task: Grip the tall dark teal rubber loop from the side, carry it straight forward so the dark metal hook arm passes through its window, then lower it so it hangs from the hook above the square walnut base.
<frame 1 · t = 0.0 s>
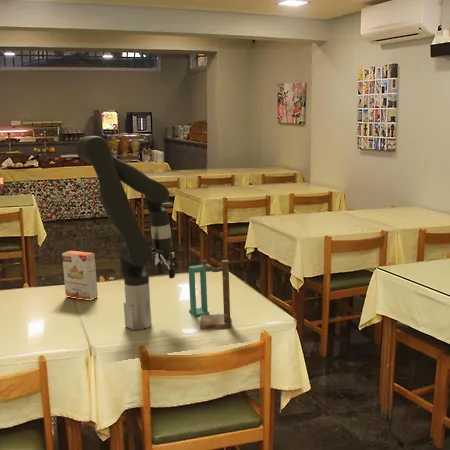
hand: (166, 275, 236), 17 cm above the table, tool pointing down, fingers open, 8 cm apart
teal loop: (199, 313, 243), on the table
cracker box: (81, 298, 269), on the table
beverage cup: (134, 282, 291), on the table
hook stand: (215, 323, 231), on the table
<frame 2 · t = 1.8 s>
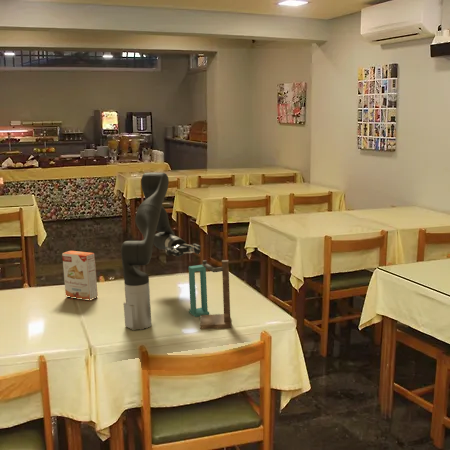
hand: (188, 253, 247), 23 cm above the table, tool horizontal, fingers open, 8 cm apart
nothing on the table moved.
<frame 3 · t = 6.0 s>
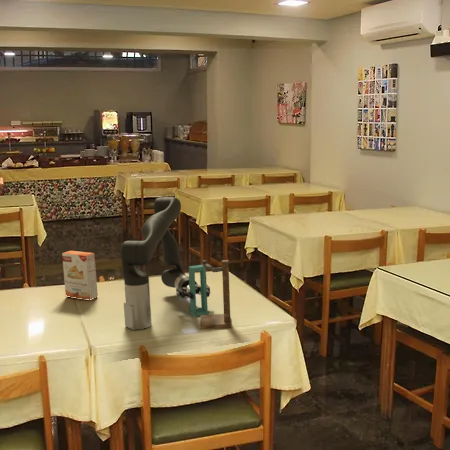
hand: (200, 295, 239), 8 cm above the table, tool horizontal, fingers closed on teal loop, 6 cm apart
teal loop: (199, 313, 243), on the table, touching gripper
everything else where it was.
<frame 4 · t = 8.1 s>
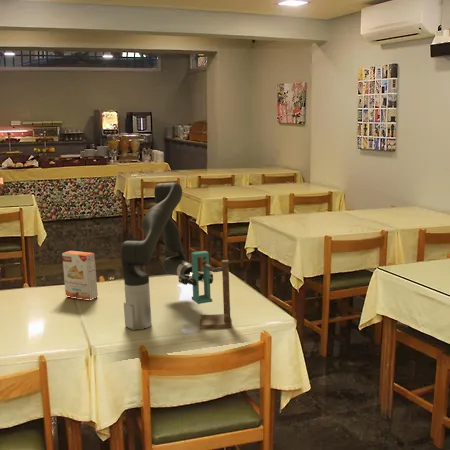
hand: (203, 282, 234), 14 cm above the table, tool horizontal, fingers closed on teal loop, 6 cm apart
teal loop: (201, 300, 238), point 6 cm above the table, touching gripper
everything else where it was.
when the fingers open (13 cm above the table, at t = 10.5 s): teal loop stays where it is, resting on hook stand.
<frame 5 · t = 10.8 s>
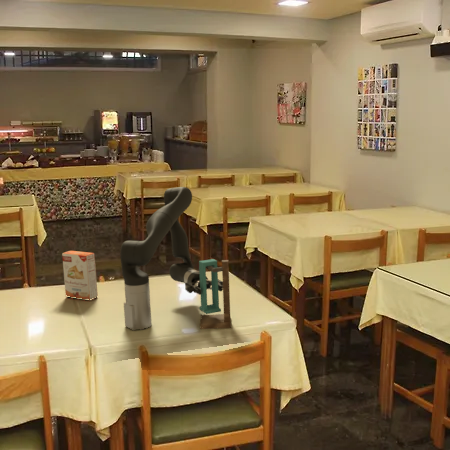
hand: (211, 290, 228), 13 cm above the table, tool horizontal, fingers open, 8 cm apart
teal loop: (210, 310, 231), point 5 cm above the table, touching hook stand
everything else where it was.
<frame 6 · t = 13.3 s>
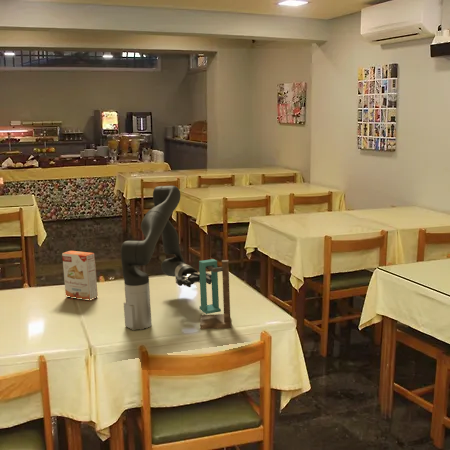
hand: (200, 283, 238), 13 cm above the table, tool horizontal, fingers open, 8 cm apart
nothing on the table moved.
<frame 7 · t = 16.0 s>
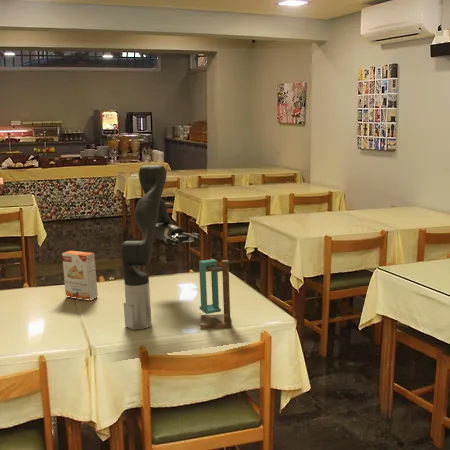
hand: (188, 241, 246), 28 cm above the table, tool horizontal, fingers open, 8 cm apart
nothing on the table moved.
at the end: teal loop inside the target area on the hook stand (0.1 cm from its centre), point 4.8 cm above the hook stand's base; teal loop touching hook stand; the gripper is holding nothing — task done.
